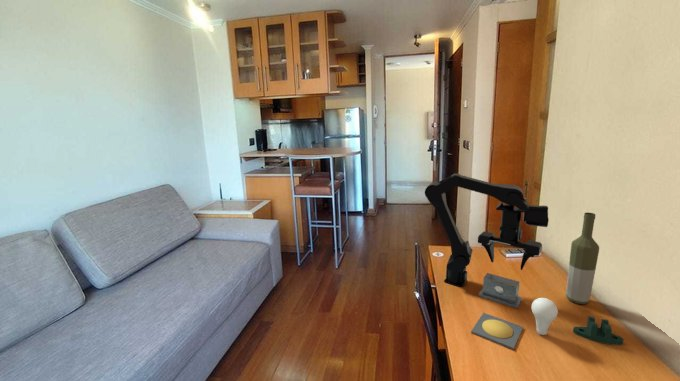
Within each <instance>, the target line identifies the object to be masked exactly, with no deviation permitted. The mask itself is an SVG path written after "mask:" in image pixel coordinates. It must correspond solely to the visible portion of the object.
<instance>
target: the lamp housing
mask: <svg viewBox="0 0 680 381" xmlns="http://www.w3.org/2000/svg"><path fill="white" fill-rule="evenodd" d="M519 290H520V281H519V280H515V279H512V278H511V279H510V278H507V277H505V276H500V275H496V274H493V273H489V272H487V273H486V274H485V276H484V277H483V284H482V288H481V290H480V291H479V293H478V297H480V298H483V299H486V300H490V301H492V302H495V303H499V304H502V305H505V306H508V307H510V308H514V309H518V308H519V306H520V305H521V303H522V300H523V298H522V297H521V296H519V292H520V291H519Z"/></svg>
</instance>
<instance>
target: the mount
mask: <svg viewBox="0 0 680 381" xmlns="http://www.w3.org/2000/svg"><path fill="white" fill-rule="evenodd" d="M600 321H601V322H600V326H598V323H597V322H596V319H595V317H594V316H587V322H586V326H573V328H572V329H573V330H572V333H574V335H577V336H579V337H582V338H583V339H586V340H589V341H593V342H597V343H602V344H606V345H615V346H617V345H618V346H622V345H624V338H623V337H622V336H621V335H617V334H615V333H612V330H613V329H612V326H611V325H609V324H610V322H609V319H603V318H601V320H600Z"/></svg>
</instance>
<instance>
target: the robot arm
mask: <svg viewBox="0 0 680 381" xmlns="http://www.w3.org/2000/svg"><path fill="white" fill-rule="evenodd" d="M455 187H458V188H461V189H465V190H469V191H471V192H472V191H473V192H476V193H479V194H483V195H486V196H489V197H492V198H494V199H496V200H498V201H499V202H500V203H499V204H497V205H496V206H495V210H496V211H501V217H500V218H501V219H500V225H499V237H498V236H495V233H493V232H490V231H489V232H488V231H483V232H481V233H480V234H478V237H477V244H481V246H482V247H484V249H485V251H486V252H487V253H486V254H488V257H489V259H490V262H491V263H492V264H493V263H494V260H495V244H496V243H497V244H500V245H505V246H510V247H514V248H519V249H524V252H523V255H522V258H521V263H520V270H521V271H522V270H523V269H524V267H525V265H526V263H527V261H528V260H529V259H530V258H534V257H535V256H536V257H537V256H539V255H540V254H541V252H542V250H543V244H542V242H541V241H540V242H539V241H535V240H531V239H530V240H529V239H528V240H527V242H521V240H522V235H523V230H524V229H522V228H521V219H522V222H523V223H525V224H526V226H530V227H543V228H548V226H549V222H550V221H549V220H550V219H549V206H548V205H534V204H528V201H527V200H526V199H525V197H524V193H523V190H522V188H521V187H520V186H518V185H515V184H507V183H506V184H505V183H492V182H488V181H484V180H481V179H477V178H474V177H471V176H466V175H463V174H461V173H460V174H459V173H453V174H452V175H449V176H448V177H446V178H444V179H442V180H439V181H433V182H431V183H429V184H428V186H426V188H425V190H424V195H425V198H426V199H427V201H428V202H429V204H430V205H431V206H432V207H433V208H434V209H435V211H436V213H437V216H438V218H439V220H440V222H441V226H442V227H443V230H444V232H445V234H446V237H447V239H448V241H449V244H450V250H451V251H450V252H451V254H450V255H449V256H448V257H449V258H448V261H447V263H446V271H445V273H446V274H445V279H444V280H443V282H444V283H447V284H450V285H453V286H457V287H459V288H463V287H462V286H464V284H465V283H467V281H468V271H467V267H468V266H469V265H470V263H471V259H472V255H473V248H471V246H470V242H469V240H466V241H464V240H463V238H462V236H461V235H460V234H461V233H460V232H459V230H458V228H457V225H456V222H455V220H454V217H453V216H452V213H451V210H450V208H449V207H448V203H447V196H446V192H449V191H450V190H451V189H453V188H455Z"/></svg>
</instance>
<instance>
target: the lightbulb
mask: <svg viewBox="0 0 680 381" xmlns="http://www.w3.org/2000/svg"><path fill="white" fill-rule="evenodd" d="M530 307H531V311H532V314H533V316H534V319H535V325H536V330H535V331H536V333H538V334H539V335H540V336H545V335H547V334H548V330H549V328H550V325H551V323H552V322H553V321H554V320H555V319H556V318H557V317H558V313H559V310H558V306H557V305H556V304H555V302H554V301H552V300H551V299H549V298H546V297H539V298H536V299H534V300H533V301H532V303H531V306H530Z"/></svg>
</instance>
